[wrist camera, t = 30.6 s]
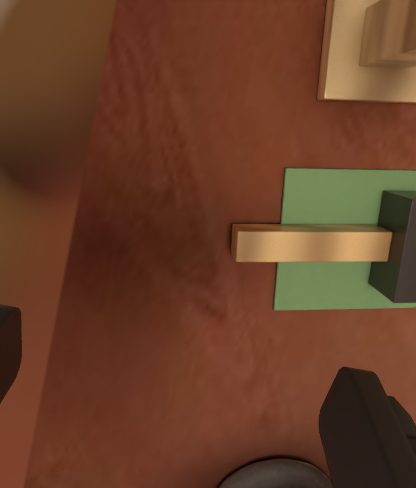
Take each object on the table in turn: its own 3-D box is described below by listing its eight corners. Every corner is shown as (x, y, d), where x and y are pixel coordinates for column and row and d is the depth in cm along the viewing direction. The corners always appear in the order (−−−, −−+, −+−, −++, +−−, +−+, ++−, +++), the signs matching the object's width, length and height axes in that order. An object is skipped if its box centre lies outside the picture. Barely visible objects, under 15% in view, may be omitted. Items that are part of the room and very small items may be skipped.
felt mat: (272, 308, 34) (274, 310, 34) (284, 167, 31) (286, 168, 30) (486, 304, 36) (489, 306, 36) (519, 172, 33) (524, 172, 32)
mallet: (229, 284, 33) (237, 306, 29) (234, 188, 30) (243, 197, 26) (411, 282, 34) (442, 302, 30) (429, 190, 32) (465, 200, 28)
